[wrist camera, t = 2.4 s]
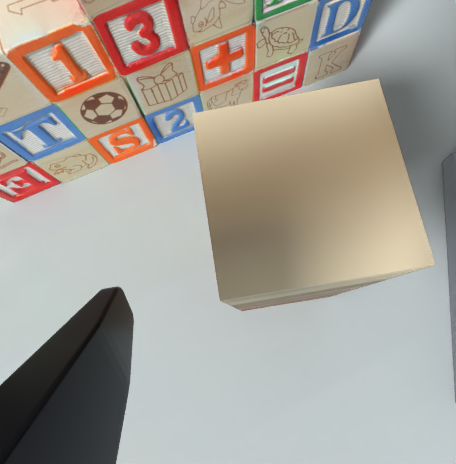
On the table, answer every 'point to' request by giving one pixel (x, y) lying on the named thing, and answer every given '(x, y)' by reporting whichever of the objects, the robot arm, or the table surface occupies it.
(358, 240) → the tower
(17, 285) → the table surface
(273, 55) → the stack of blocks
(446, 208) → the plate
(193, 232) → the table surface
